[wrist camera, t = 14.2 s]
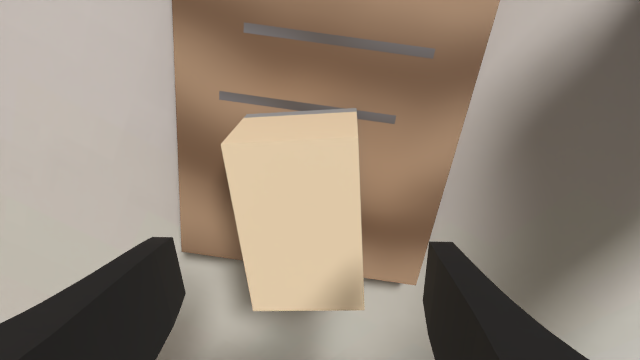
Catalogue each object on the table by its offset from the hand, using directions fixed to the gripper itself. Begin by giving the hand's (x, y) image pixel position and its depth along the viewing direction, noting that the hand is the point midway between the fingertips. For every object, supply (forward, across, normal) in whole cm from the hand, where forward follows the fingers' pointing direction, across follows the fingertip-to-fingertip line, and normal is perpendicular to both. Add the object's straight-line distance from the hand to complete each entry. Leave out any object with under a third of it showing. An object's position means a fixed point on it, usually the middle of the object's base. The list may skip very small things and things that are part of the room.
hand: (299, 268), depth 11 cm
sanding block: (+8, +1, +2) cm, 8 cm away
